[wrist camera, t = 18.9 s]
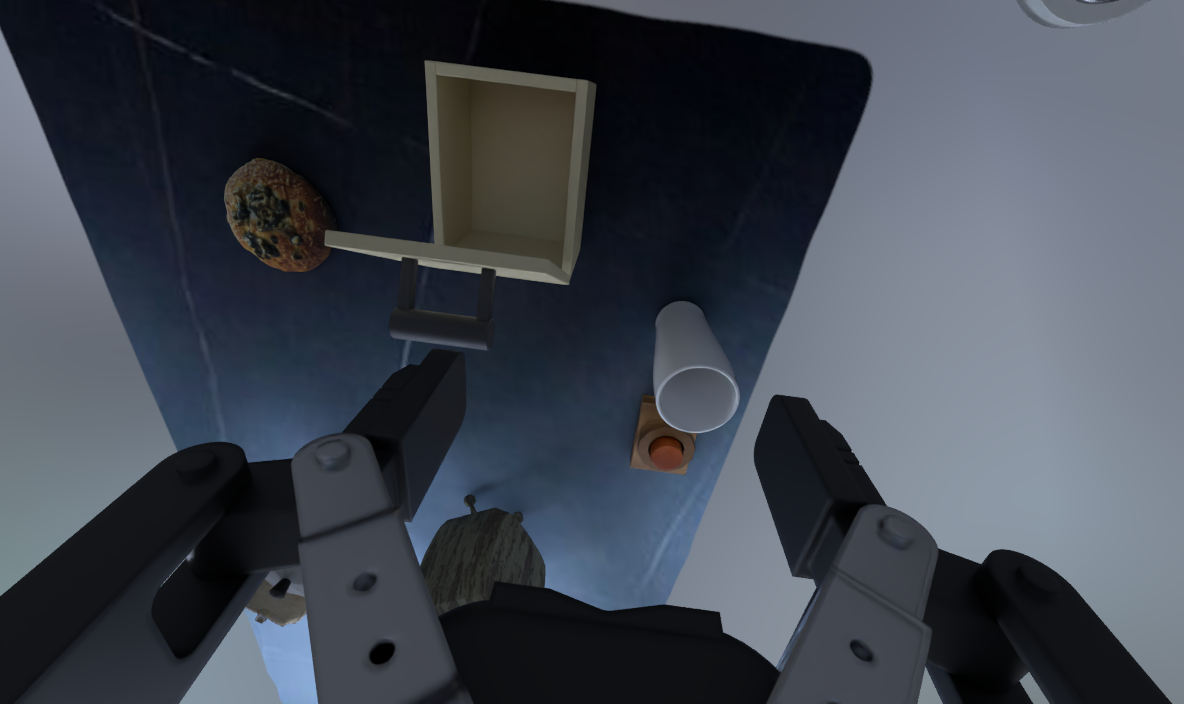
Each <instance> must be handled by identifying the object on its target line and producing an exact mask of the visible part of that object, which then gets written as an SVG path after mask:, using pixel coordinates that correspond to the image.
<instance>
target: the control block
mask: <svg viewBox="0 0 1184 704" xmlns="http://www.w3.org/2000/svg"><path fill="white" fill-rule="evenodd" d="M696 435H697V433H689V432H684V431H680V430H678V429H675V428H673V427H672V426H670V425H669V424H667V423H666V422H665V421H664V420H663V419H662V417H661V416H660V414H659V412H658V410H657V407H656V401H655V396H650V395H643V396H642V401H641V406H640V411H639V416H638V421H637V426H636V431H635V436H634V442H633V447H632V452H631V457H630V467H631V468H638V469H645V470H653V471H660V472H668V473H675V474H682V475H686V471H687V468H688V464H689V462H690V461H691V460H692V458H693V455H694V451H695V444H694V442H695V439H696ZM664 436H668V437H673V438H675V439H677V440H678V441H679V442H680V444H681V447H682V454H683V460H682V462H681V464H680V465H679V466H678V467H676V468H674V469H671V470H663V469H659V468H657V467H656V466H655V465H654V464H653V463H652V460H651V445H652V443H653V442H654V441H655V440H656V439H657V438H660V437H664Z"/></svg>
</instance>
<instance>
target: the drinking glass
mask: <svg viewBox="0 0 1184 704" xmlns="http://www.w3.org/2000/svg"><path fill="white" fill-rule="evenodd" d="M655 328H656V339H655V352H654V363H653V387H654V395H655V401H656V407H657V410H658V412H659V414H660V416H661V417H662V419H663V420H664V421H665V422H666V423H667V424H669V425H670V426H672V427H673V428H675V429H678V430H680V431H684V432H689V433H702V432H707V431H711V430H714V429H716V428H718V427H720V426H722V425H723V424H725V423H726V422H727V421H728V420H729V419H730V418H731V417H732V416H733V415H734V413H735V412H736V410H737V407H738V405H739V399H740V393H739V388H738V385H737V381H736V378H735V374H734V372H733V369H732V366H731V364H730V362H729V359H728V357H727V356H726V354H725V352H724V350H723V348H722V347H721V345H720V343H719V342H718V340H717V338H716V336H715V335H714V333H713V331H712V329H711V328H710V326H709V324H708V322H707V320H706V317H705V315H704V313H703V311H702V310H701V309H700V308H699V307H698V306H697V305H695V304H693V303H691V302H687V301H677V302H673V303H670V304H668V305H667V306H665V307H664V308H663V309H662V310H661V311H660V313H659V314H658V316H657V319H656V324H655Z"/></svg>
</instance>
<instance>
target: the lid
mask: <svg viewBox="0 0 1184 704" xmlns="http://www.w3.org/2000/svg"><path fill="white" fill-rule="evenodd" d="M324 244H325V245H326V246H330V247H335V248H340V249H345V250H350V251H355V252H360V253H365V254H370V255H375V256H379V257H384V258H389V259H394V260H399V261H401V273H400V285H399V297H398V307H396V308H395V309H394V310H393V311H392V313H391V316H390V321H389V331H390V334H391V336H392V337H393V338H397V339H405V340H412V341H420V342H427V343H435V344H442V345H450V346H457V347H465V348H473V349H480V350H490V349H491V347H492V344H493V340H494V334H495V324H494V320H492V319H491V317H492V307H493V298H494V288H495V279H496V276H503V277H511V278H518V279H526V280H534V281H541V282H549V283H556V284H564V285H569V281H570V276H569V275H568V274H567V273H565V272H564V271H563V270H562V269H560V268H559V267H558V266H556V265H555V264H554V263H552V262H551V261H550V260H548V259H546V258H538V257H530V256H523V255H515V254H507V253H500V252H492V251H484V250H477V249H469V248H461V247H454V246H446V245H438V244H431V243H423V242H415V241H408V240H400V239H392V238H385V237H377V236H369V235H361V234H354V233H346V232H338V231H331V230H326V231H325V243H324ZM418 264H419V265H424V266H429V267H434V268H442V269H449V270H457V271H465V272H472V273H480V274H481V280H480V290H479V300H478V309H477V317H471V316H463V315H456V314H448V313H441V312H433V311H426V310H418V309H414V302H415V291H416V280H417V268H418Z"/></svg>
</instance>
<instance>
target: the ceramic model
mask: <svg viewBox="0 0 1184 704" xmlns="http://www.w3.org/2000/svg"><path fill="white" fill-rule="evenodd" d="M273 587H274V586H272V585H271V584H270V583H269V582H268V581H266V580H265V579H264V581H263V582H262V584H261V585H260V587H259V588H258V590H257V591H256V593H255V594H254V595H253V597H252V598H251V600H250V601H249V603H248V604H247V606H246V607H245V608H246V609H248V610H250V611H252V612H255V613H257V614H258V615H257V617H256V619H255V621H257V622H259V623H263V622H265V621H266V620H267V618H268V619H269V620H270V621H272V622H273V623H275V624H278V625H280V626H282V627H283V626H285V625H287V624H290V623H293V624H295V623H297V622H298V621H300V620H301V619H302V617H303V616H304V615H305V614H306V613H307V612H306V604H305V597H303V596H300V595H296V594H292V593H288V592H287V593H286V595H285V597H284V598H283V599H276V598H273V597H272V596H271V595H270V594H269V591H270V590H271V589H272V588H273Z"/></svg>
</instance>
